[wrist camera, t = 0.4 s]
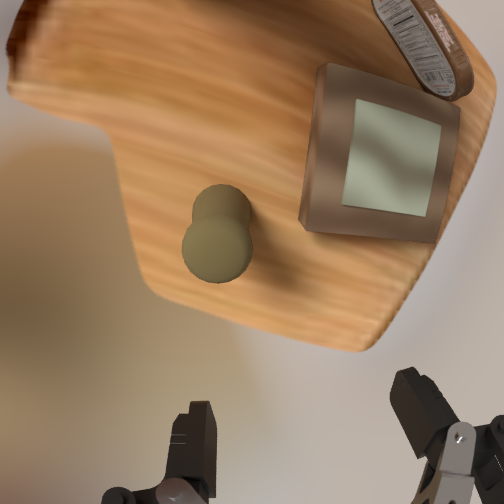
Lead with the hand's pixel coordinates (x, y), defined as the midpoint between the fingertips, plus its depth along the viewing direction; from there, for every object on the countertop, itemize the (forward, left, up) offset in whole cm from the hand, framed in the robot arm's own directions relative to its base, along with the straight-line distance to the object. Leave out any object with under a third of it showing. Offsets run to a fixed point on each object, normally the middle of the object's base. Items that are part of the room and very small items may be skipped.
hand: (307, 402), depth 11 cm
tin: (-23, +14, -22) cm, 35 cm away
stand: (-9, +12, -22) cm, 27 cm away
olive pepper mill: (-1, -4, -22) cm, 23 cm away
